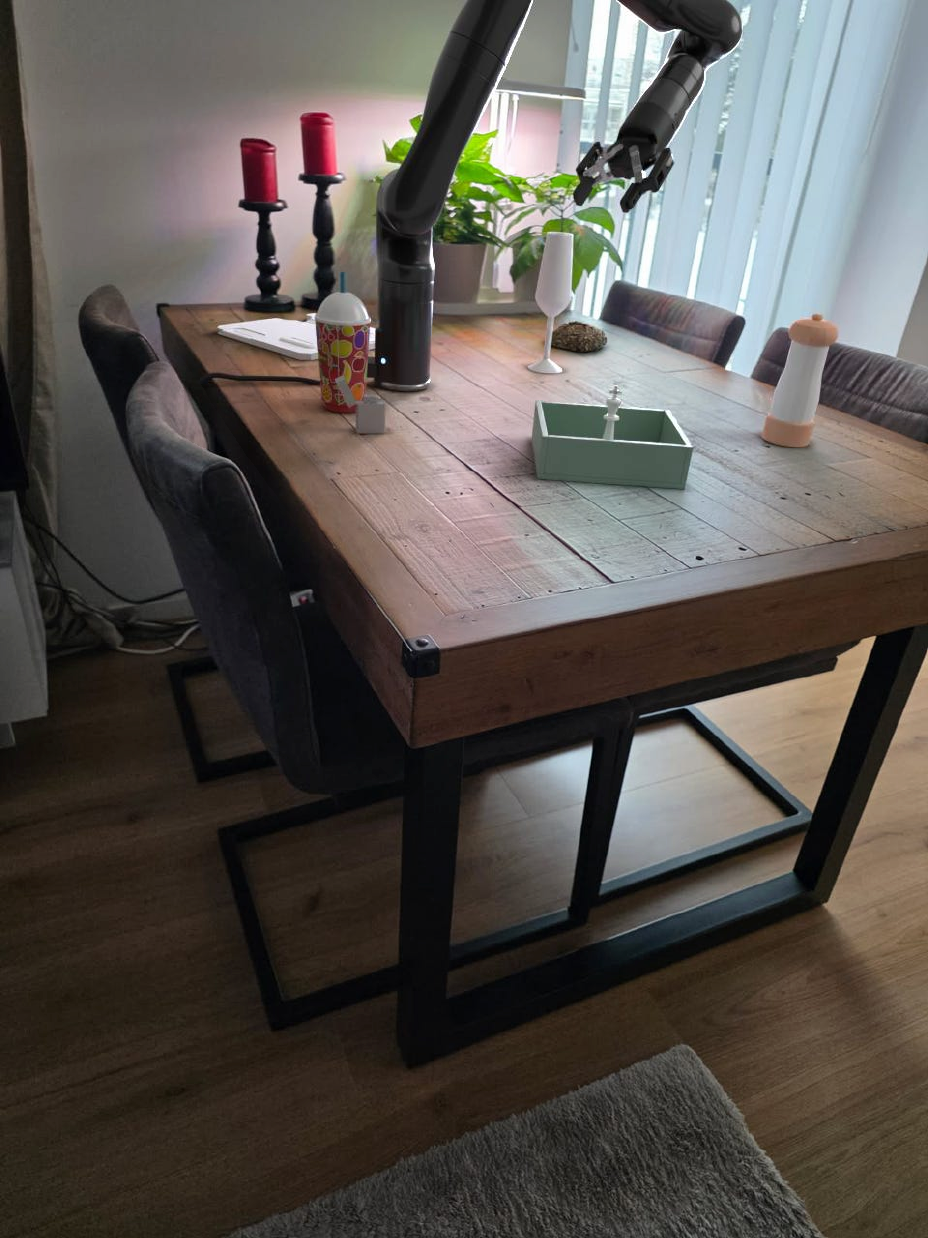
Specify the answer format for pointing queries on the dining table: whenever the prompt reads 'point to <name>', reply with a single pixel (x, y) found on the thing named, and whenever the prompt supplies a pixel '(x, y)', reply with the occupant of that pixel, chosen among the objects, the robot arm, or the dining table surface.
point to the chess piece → (612, 413)
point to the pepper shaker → (800, 383)
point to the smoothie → (342, 347)
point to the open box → (609, 446)
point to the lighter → (365, 409)
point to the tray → (282, 336)
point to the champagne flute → (554, 289)
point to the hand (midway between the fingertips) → (599, 204)
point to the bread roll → (578, 337)
